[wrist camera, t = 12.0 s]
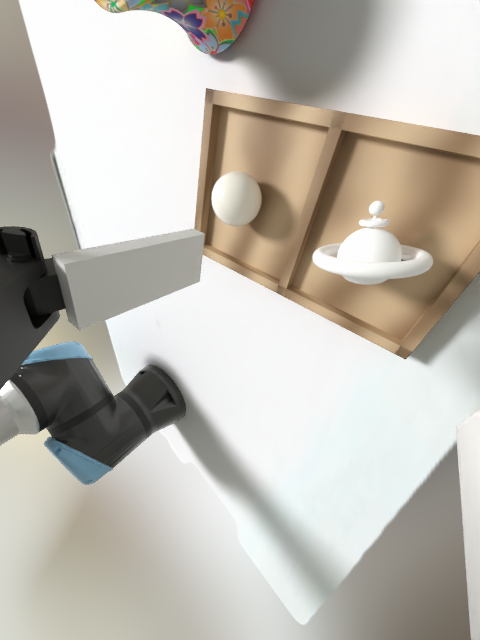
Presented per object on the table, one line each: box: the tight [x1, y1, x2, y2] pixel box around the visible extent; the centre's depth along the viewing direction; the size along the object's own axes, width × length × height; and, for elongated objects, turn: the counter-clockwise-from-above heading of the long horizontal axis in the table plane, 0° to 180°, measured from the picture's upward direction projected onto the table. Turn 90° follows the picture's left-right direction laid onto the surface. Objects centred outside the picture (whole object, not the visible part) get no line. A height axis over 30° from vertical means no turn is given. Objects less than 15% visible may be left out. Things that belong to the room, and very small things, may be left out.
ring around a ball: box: [313, 201, 433, 285], centre depth 18 cm, size 8×6×8 cm
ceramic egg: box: [211, 171, 262, 227], centre depth 25 cm, size 5×5×5 cm
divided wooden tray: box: [195, 88, 480, 359], centre depth 24 cm, size 27×16×2 cm, turn 76°
